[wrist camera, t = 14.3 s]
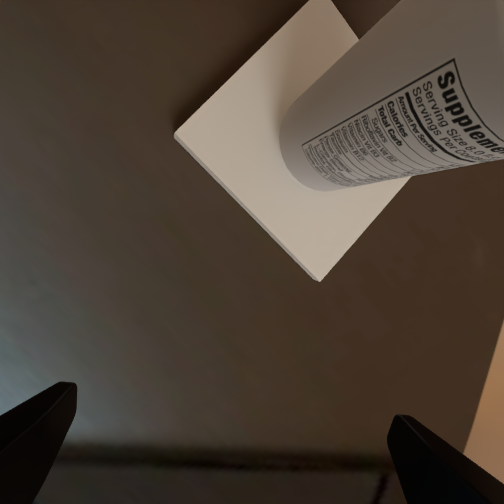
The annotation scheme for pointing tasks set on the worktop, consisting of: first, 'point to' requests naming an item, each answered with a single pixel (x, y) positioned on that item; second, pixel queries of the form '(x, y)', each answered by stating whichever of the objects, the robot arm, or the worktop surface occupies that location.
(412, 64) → the energy drink can
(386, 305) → the worktop surface
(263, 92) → the pad
